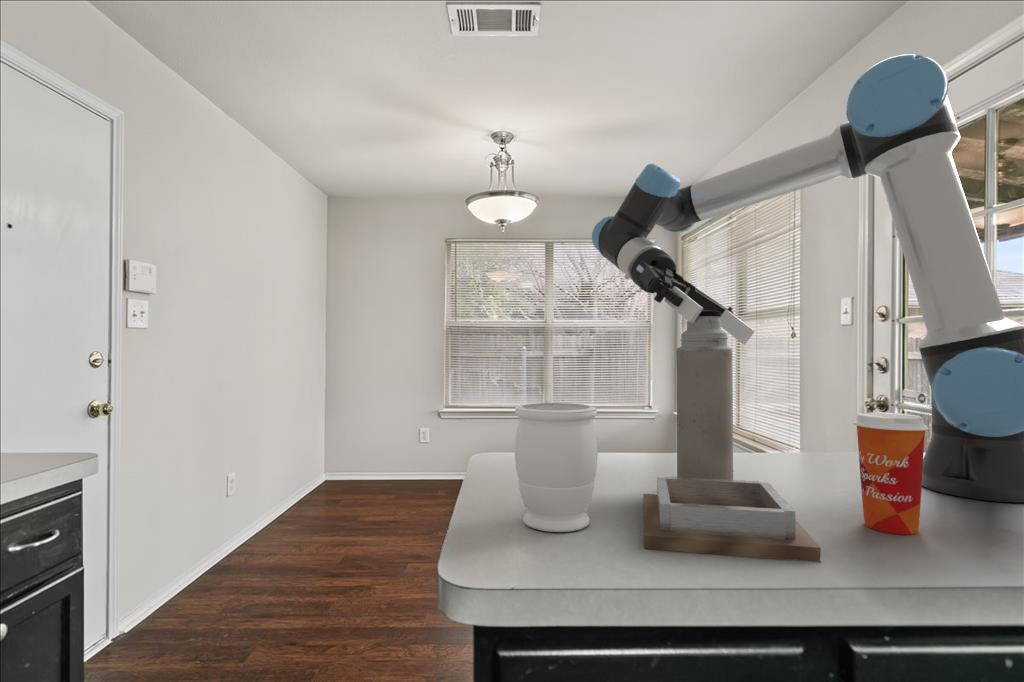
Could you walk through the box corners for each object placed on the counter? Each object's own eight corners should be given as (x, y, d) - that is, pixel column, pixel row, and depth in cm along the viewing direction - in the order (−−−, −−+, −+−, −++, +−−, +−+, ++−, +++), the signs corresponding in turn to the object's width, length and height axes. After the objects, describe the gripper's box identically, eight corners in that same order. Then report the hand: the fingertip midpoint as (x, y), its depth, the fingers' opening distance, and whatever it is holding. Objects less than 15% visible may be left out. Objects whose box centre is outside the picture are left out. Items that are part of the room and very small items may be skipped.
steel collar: (767, 504, 75) (767, 481, 75) (797, 540, 61) (796, 512, 61) (656, 497, 78) (656, 476, 78) (660, 531, 64) (660, 504, 64)
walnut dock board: (779, 512, 76) (779, 501, 76) (820, 562, 59) (820, 547, 59) (643, 504, 80) (643, 493, 80) (644, 548, 63) (644, 535, 63)
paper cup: (840, 522, 72) (839, 413, 72) (880, 515, 75) (879, 410, 75) (904, 542, 65) (903, 420, 65) (945, 533, 68) (943, 417, 68)
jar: (604, 515, 75) (603, 403, 75) (589, 540, 65) (588, 412, 66) (528, 508, 79) (528, 401, 79) (503, 531, 69) (503, 409, 69)
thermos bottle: (672, 489, 88) (671, 312, 89) (724, 490, 88) (723, 312, 88) (683, 503, 81) (681, 309, 81) (740, 504, 80) (739, 308, 80)
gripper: (678, 301, 110) (753, 363, 94) (586, 262, 96) (656, 326, 80) (701, 269, 107) (782, 327, 91) (610, 223, 93) (687, 282, 77)
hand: (723, 327), depth 86 cm, fingers open, 13 cm apart
